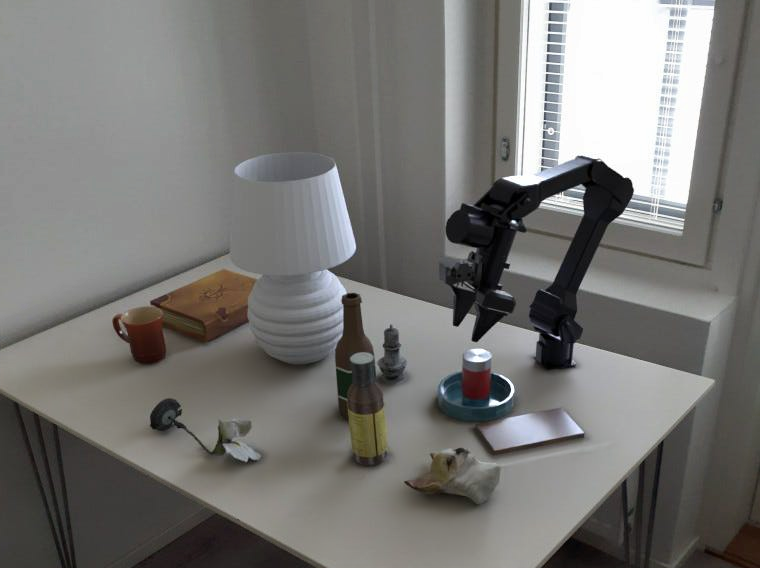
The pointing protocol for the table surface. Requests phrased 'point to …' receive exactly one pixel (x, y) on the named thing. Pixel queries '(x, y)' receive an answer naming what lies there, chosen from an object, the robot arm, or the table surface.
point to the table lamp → (292, 251)
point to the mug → (143, 333)
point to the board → (528, 431)
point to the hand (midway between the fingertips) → (464, 333)
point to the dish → (454, 407)
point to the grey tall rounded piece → (392, 357)
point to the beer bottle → (349, 347)
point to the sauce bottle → (366, 412)
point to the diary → (207, 305)
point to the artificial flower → (227, 431)
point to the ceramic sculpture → (459, 476)
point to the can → (476, 378)
